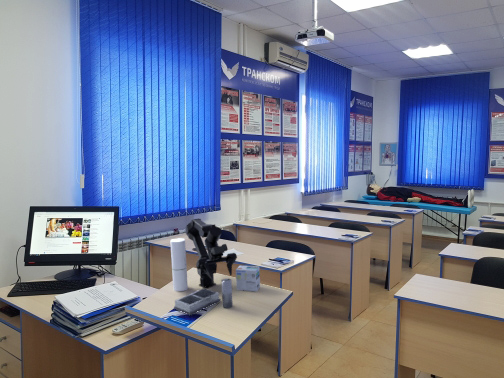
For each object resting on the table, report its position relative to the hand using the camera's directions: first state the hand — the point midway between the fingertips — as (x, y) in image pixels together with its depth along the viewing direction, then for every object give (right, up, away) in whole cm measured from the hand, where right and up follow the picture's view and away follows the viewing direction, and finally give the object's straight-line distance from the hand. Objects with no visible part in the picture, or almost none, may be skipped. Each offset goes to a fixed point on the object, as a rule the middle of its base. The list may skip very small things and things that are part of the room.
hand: (221, 277), depth 170 cm
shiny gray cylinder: (+3, -12, -4) cm, 13 cm away
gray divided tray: (-11, -12, -2) cm, 16 cm away
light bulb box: (+12, -10, +16) cm, 22 cm away
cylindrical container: (-22, -10, +18) cm, 31 cm away
